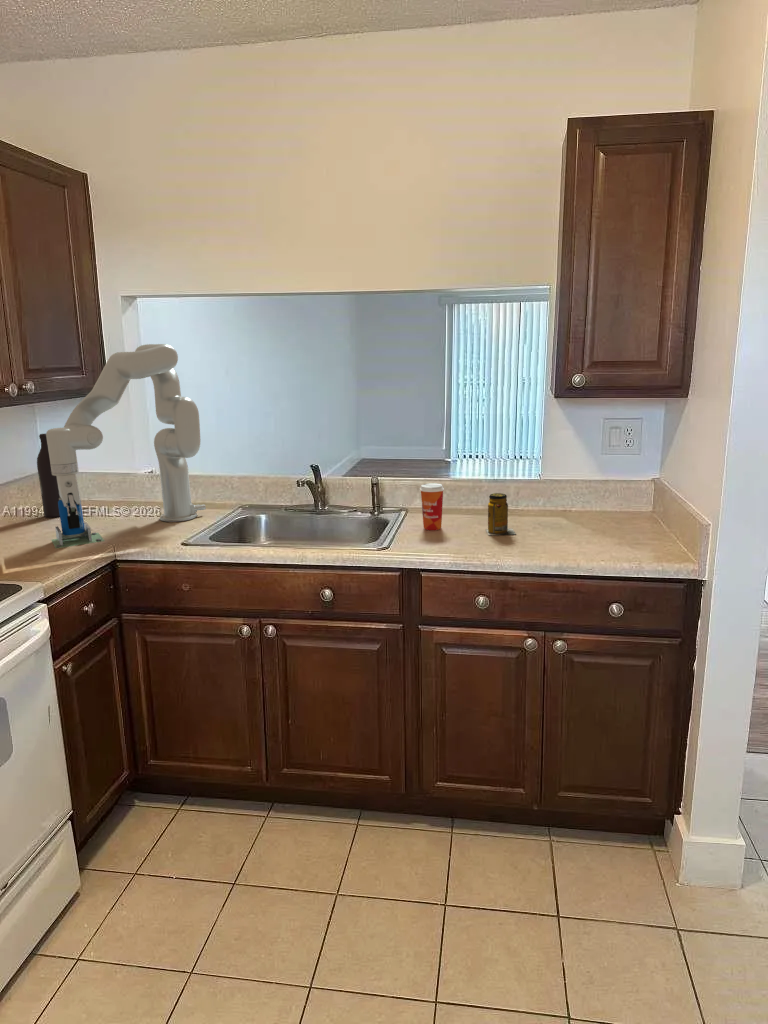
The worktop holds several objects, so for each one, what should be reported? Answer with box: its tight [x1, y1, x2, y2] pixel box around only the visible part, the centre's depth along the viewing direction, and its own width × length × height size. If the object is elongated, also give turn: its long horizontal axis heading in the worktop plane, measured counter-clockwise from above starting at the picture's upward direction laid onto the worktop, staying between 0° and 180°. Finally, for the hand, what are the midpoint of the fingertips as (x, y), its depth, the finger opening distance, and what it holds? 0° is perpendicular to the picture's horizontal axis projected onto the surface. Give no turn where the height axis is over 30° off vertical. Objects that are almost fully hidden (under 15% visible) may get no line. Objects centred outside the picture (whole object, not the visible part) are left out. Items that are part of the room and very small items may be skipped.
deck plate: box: [51, 532, 105, 550], centre depth 223 cm, size 14×12×1 cm
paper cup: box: [419, 482, 445, 531], centre depth 226 cm, size 8×8×14 cm
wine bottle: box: [36, 433, 60, 519], centre depth 257 cm, size 7×7×30 cm
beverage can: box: [58, 498, 85, 537], centre depth 220 cm, size 6×6×12 cm
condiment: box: [485, 492, 517, 536], centre depth 219 cm, size 7×8×12 cm
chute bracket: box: [55, 521, 92, 546], centre depth 221 cm, size 9×9×4 cm
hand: (72, 525), depth 221 cm, fingers closed on beverage can, 6 cm apart
